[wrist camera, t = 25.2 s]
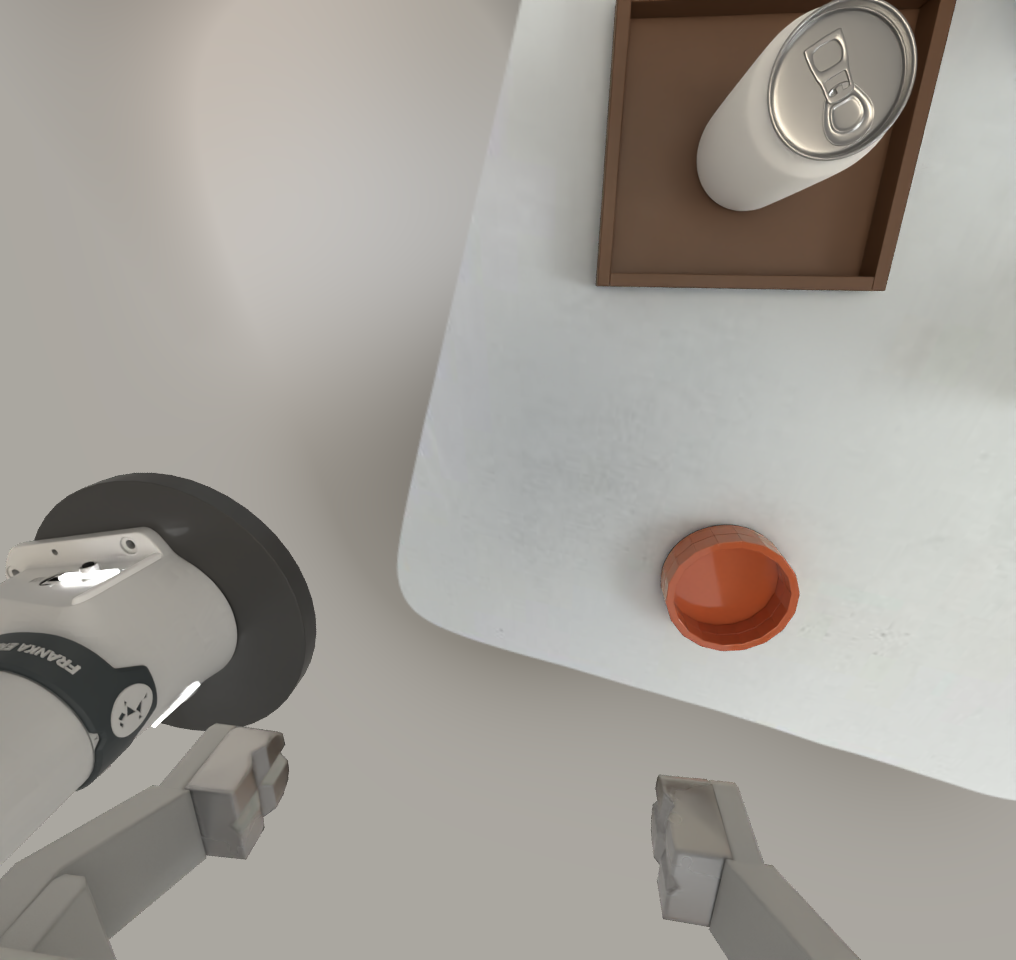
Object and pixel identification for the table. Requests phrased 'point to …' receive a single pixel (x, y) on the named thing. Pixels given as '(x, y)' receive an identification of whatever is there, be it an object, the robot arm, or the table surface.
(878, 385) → the table surface
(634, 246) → the tray
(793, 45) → the can
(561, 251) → the table surface
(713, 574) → the bowl
